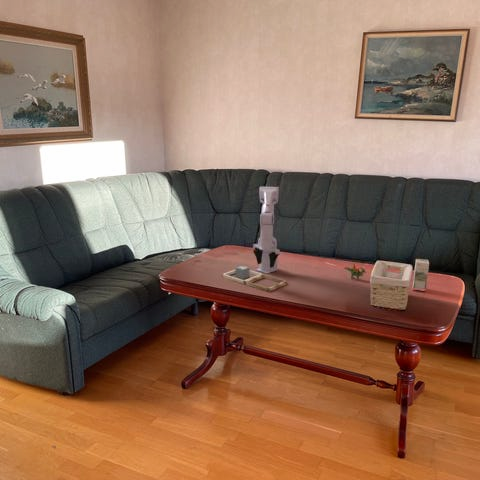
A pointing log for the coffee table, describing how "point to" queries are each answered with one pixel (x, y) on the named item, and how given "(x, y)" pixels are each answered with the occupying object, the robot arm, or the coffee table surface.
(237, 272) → the letter cube
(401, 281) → the storage basket
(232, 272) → the cream square frame
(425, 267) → the syrup box
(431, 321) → the coffee table surface
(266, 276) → the brown wooden frame
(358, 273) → the figurine
